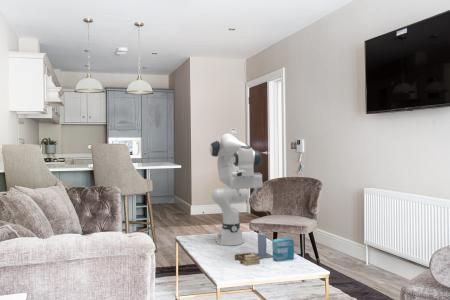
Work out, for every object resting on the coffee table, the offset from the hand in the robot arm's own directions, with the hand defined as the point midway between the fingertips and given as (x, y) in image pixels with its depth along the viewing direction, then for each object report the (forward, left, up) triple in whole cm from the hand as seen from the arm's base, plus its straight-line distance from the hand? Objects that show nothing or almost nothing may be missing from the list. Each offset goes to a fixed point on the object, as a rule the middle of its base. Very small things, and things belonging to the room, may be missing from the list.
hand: (246, 195), depth 273 cm
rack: (+6, -4, -37) cm, 38 cm away
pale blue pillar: (+1, +9, -36) cm, 38 cm away
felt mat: (+1, +9, -37) cm, 38 cm away
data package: (+13, +17, -37) cm, 43 cm away
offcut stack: (+13, -4, -37) cm, 40 cm away
